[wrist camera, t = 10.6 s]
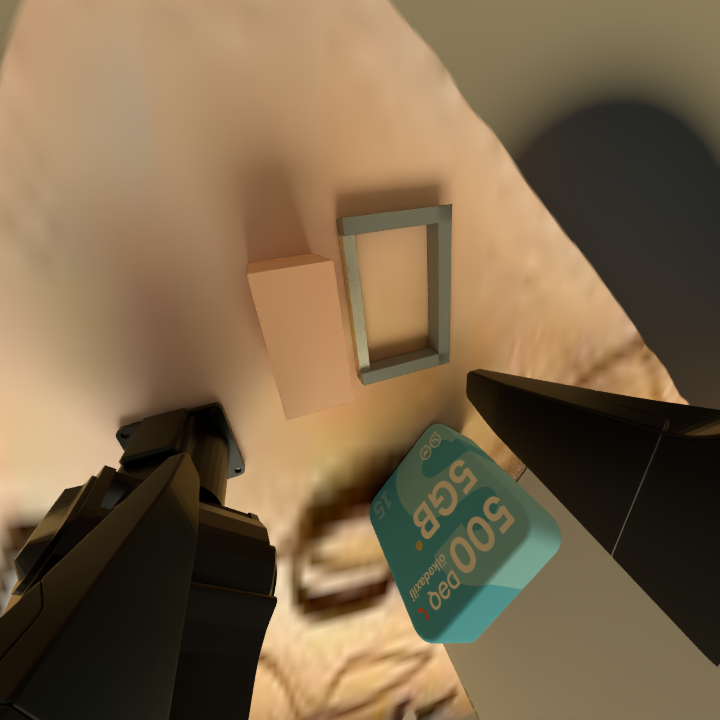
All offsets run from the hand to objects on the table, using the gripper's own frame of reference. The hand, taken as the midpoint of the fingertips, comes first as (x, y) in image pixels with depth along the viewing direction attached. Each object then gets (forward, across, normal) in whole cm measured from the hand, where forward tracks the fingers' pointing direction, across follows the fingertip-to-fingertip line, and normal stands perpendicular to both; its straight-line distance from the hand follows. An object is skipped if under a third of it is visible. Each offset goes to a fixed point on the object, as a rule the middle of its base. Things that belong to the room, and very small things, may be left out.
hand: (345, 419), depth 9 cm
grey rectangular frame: (+13, -7, 0) cm, 15 cm away
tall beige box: (+13, 0, 0) cm, 13 cm away
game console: (+13, -19, +35) cm, 42 cm away
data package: (+13, -8, +18) cm, 24 cm away
